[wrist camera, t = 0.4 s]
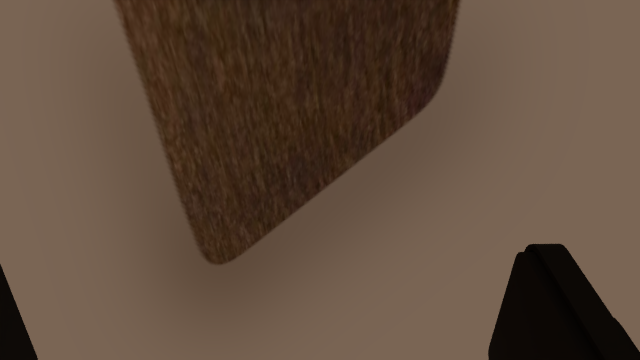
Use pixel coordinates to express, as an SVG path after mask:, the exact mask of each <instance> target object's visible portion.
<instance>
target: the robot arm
mask: <svg viewBox="0 0 640 360" xmlns="http://www.w3.org/2000/svg"><path fill="white" fill-rule="evenodd" d="M488 356H489V360H640V352H639V350H638V349H637V348H636V346H635V345H634V343H633V342H632V340H631V339H630V337H629V336H628V334H627V333H626V331H625V330H624V328H623V327H622V326H621V325H620V323H619V322H618V321H617V320H616V319H615V318H613V317H612V315H611V313H610V312H609V311H608V309H607V308H606V306H605V305H604V303H603V302H602V300H601V299H600V297H599V296H598V294H597V293H596V291H595V290H594V288H593V287H592V285H591V284H590V282H589V281H588V280H587V278H586V277H585V275H584V274H583V272H582V271H581V269H580V268H579V266H578V265H577V263H576V262H575V260H574V259H573V257H572V256H571V254H570V253H569V251H568V250H567V249H566V248H565V247H564V246H563V245H561V244H530V245H528V246H527V247H526V249H525V251H524V252H519V253H518V254H517V256H516V258H515V261H514V264H513V268H512V271H511V275H510V278H509V281H508V285H507V288H506V292H505V295H504V298H503V302H502V305H501V308H500V312H499V315H498V318H497V322H496V325H495V329H494V332H493V335H492V339H491V342H490V346H489V351H488ZM0 360H38V358H37V355H36V353H35V351H34V348H33V345H32V343H31V340H30V338H29V335H28V333H27V330H26V328H25V325H24V323H23V320H22V317H21V315H20V312H19V310H18V307H17V305H16V302H15V300H14V298H13V295H12V292H11V290H10V287H9V285H8V282H7V280H6V277H5V275H4V272H3V270H2V267H1V265H0Z"/></svg>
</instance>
